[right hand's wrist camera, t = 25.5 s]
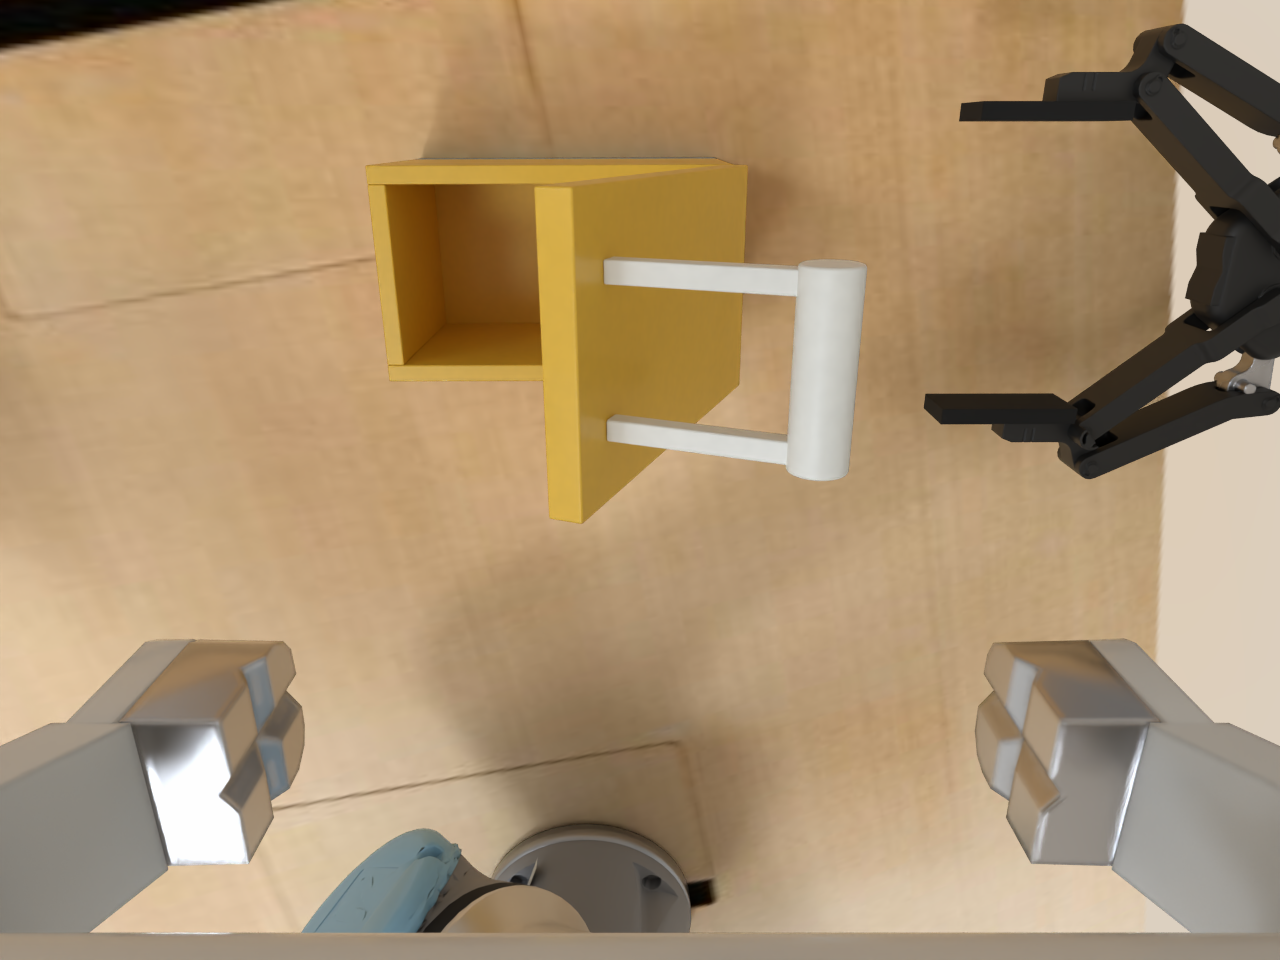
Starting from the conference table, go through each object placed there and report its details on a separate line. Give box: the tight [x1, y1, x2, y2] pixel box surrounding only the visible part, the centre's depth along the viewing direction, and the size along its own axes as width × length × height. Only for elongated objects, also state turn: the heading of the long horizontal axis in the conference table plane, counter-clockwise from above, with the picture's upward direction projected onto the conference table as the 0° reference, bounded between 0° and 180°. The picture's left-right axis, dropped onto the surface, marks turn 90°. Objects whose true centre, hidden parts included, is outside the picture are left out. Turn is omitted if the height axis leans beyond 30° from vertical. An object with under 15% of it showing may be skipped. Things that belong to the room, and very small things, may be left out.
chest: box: [366, 157, 733, 381], centre depth 44 cm, size 16×10×10 cm, turn 90°
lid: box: [534, 165, 867, 524], centre depth 30 cm, size 16×9×8 cm
